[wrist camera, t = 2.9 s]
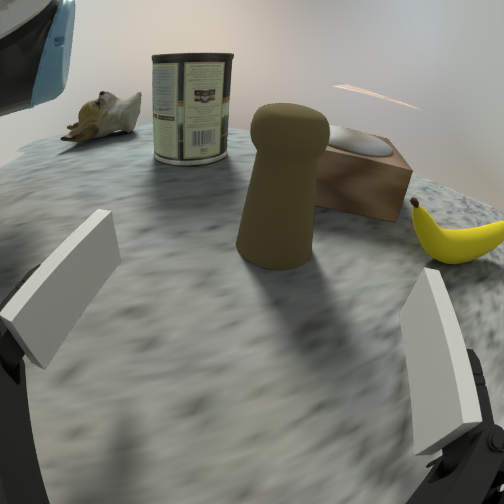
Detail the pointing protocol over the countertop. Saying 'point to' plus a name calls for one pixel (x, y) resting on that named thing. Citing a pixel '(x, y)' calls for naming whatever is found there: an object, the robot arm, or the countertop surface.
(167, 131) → the coffee can
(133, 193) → the countertop surface
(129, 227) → the countertop surface
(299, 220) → the cork
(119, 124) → the ceramic sculpture
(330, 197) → the walnut plinth
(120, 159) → the countertop surface
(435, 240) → the banana
